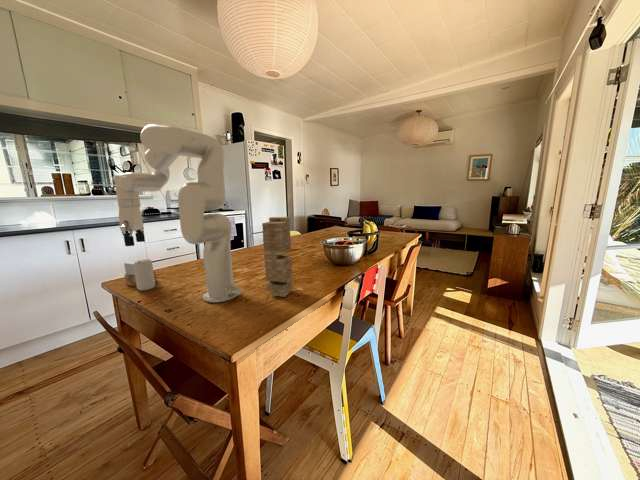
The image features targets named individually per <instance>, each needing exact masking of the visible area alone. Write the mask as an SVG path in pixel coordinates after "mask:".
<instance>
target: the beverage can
mask: <svg viewBox="0 0 640 480" xmlns="http://www.w3.org/2000/svg"><path fill="white" fill-rule="evenodd" d="M137 260H138V261H135V260H134V261H135V262H134V263H135V264H134V272H135V278H136V285H137V286H136V288H137V290H139V291H141V292H145V291H149V290H152V289H154V287H155V286H156V281H155V279H154V272H153V270H154V266H153V262H152V260H151V259H149V258H145V259H144V260H139V259H137Z"/></svg>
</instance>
